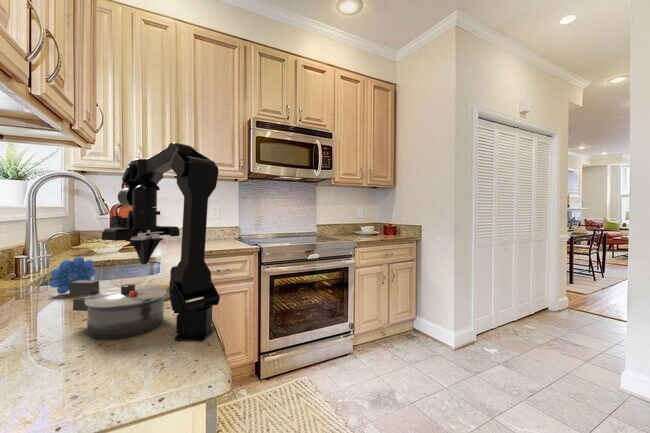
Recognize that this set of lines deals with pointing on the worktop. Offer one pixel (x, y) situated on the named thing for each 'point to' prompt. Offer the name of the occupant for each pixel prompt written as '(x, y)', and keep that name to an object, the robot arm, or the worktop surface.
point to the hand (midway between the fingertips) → (144, 264)
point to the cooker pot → (121, 319)
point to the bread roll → (166, 291)
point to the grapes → (71, 273)
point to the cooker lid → (116, 294)
